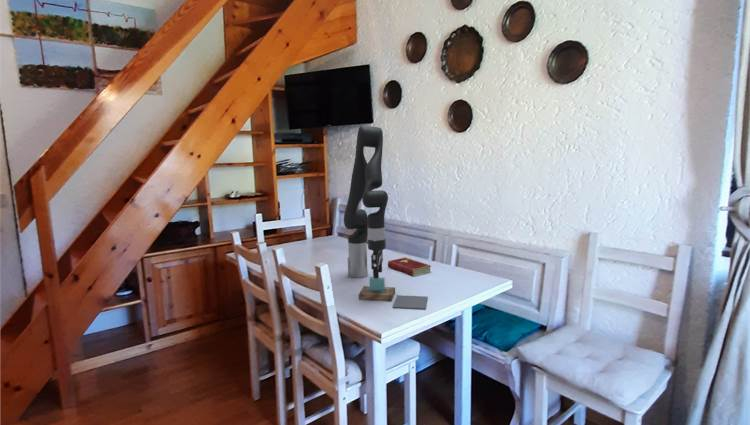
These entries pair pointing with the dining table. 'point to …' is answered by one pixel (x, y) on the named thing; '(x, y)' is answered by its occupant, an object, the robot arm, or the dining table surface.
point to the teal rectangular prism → (377, 284)
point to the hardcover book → (409, 266)
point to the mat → (410, 302)
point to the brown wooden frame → (377, 294)
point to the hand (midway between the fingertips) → (377, 275)
